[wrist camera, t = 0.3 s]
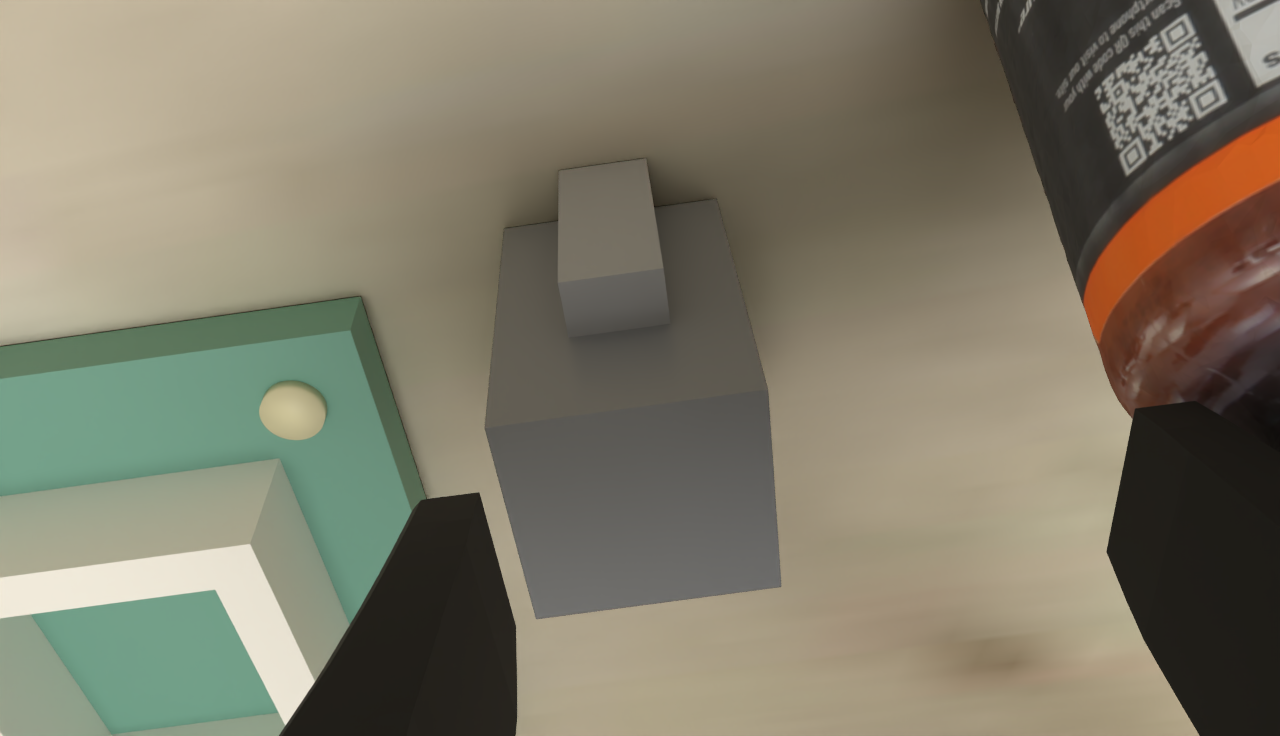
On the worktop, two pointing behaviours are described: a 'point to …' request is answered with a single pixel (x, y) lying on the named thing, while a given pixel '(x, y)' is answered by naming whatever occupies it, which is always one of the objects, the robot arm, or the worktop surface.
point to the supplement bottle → (1162, 187)
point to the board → (197, 439)
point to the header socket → (163, 584)
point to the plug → (629, 403)
